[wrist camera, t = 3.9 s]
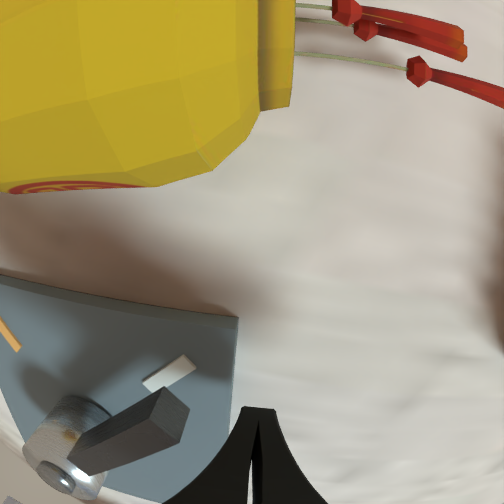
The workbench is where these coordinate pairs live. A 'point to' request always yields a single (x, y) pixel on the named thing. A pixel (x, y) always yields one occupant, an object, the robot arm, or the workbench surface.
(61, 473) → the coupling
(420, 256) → the workbench surface
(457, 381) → the workbench surface
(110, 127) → the lantern
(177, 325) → the mounting plate
